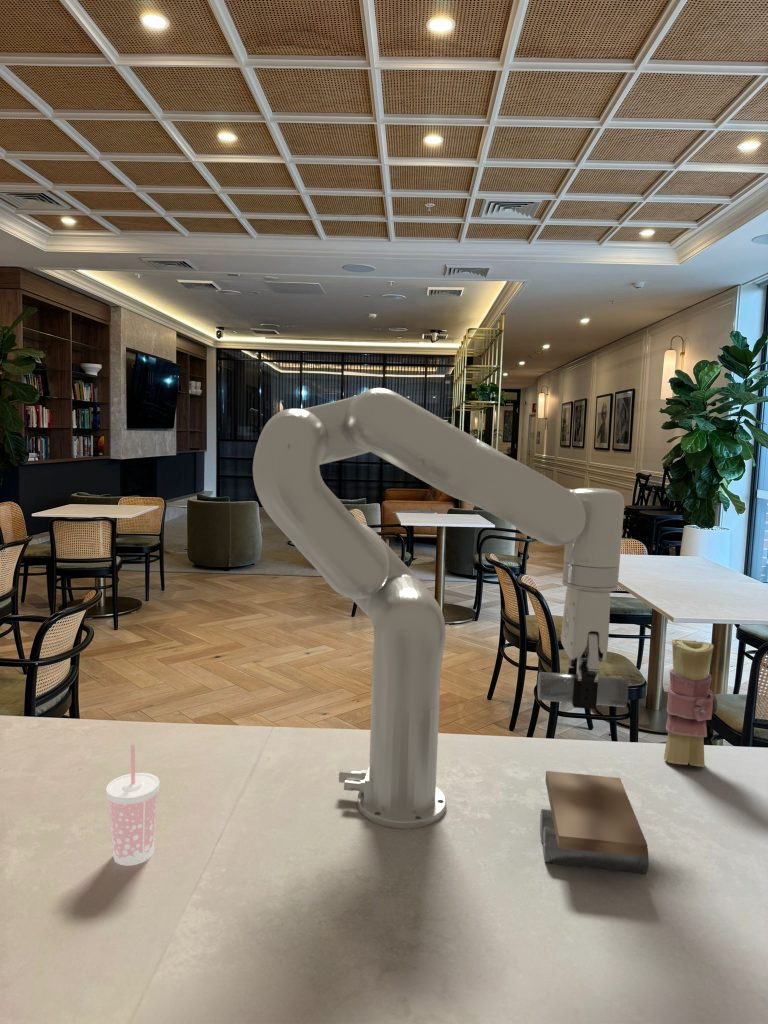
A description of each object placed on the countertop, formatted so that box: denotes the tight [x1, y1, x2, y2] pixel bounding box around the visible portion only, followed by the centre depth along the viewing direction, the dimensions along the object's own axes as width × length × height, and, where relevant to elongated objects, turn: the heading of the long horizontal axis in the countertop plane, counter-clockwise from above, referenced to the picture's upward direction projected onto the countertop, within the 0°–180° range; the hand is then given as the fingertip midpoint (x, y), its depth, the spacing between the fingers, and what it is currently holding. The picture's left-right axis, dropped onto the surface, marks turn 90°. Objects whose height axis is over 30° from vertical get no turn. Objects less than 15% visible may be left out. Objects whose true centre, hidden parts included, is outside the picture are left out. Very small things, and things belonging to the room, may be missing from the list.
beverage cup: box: [105, 744, 161, 867], centre depth 84 cm, size 6×6×14 cm
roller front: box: [542, 827, 649, 874], centre depth 85 cm, size 12×4×4 cm, turn 82°
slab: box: [545, 770, 648, 857], centre depth 88 cm, size 10×16×2 cm, turn 172°
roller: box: [537, 671, 629, 708], centre depth 99 cm, size 12×4×4 cm, turn 84°
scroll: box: [663, 639, 718, 768], centre depth 112 cm, size 8×8×20 cm
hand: (581, 699), depth 99 cm, fingers closed on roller, 4 cm apart
